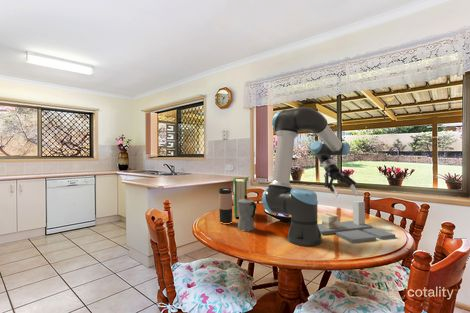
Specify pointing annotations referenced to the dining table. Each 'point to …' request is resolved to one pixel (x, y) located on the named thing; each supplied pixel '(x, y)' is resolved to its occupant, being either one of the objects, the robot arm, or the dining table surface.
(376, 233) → the broken strip
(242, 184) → the hardback book
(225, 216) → the travel mug
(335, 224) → the birch cube
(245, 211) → the coffeepot
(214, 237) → the dining table surface
